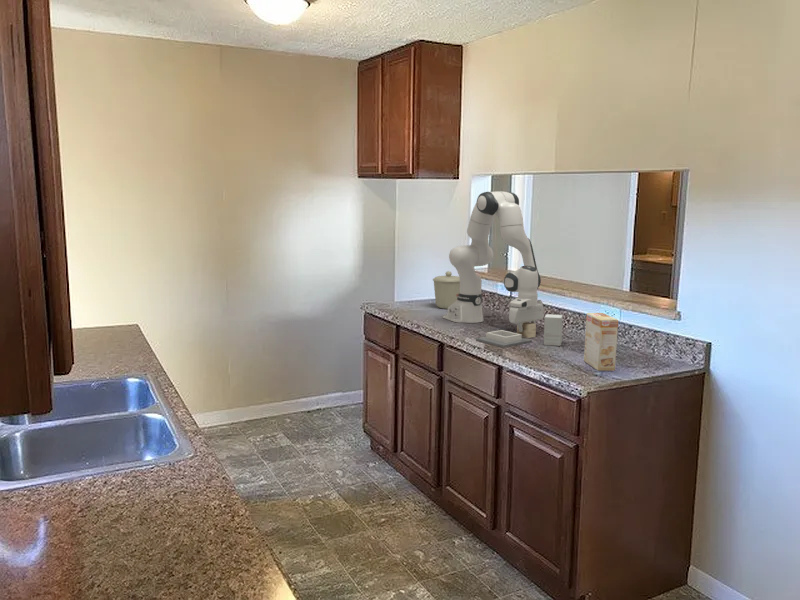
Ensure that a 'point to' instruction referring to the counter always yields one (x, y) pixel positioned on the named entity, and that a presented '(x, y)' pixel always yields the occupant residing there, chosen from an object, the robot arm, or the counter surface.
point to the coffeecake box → (601, 341)
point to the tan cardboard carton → (528, 330)
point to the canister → (446, 289)
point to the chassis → (503, 338)
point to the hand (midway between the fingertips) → (526, 330)
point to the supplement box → (553, 329)
